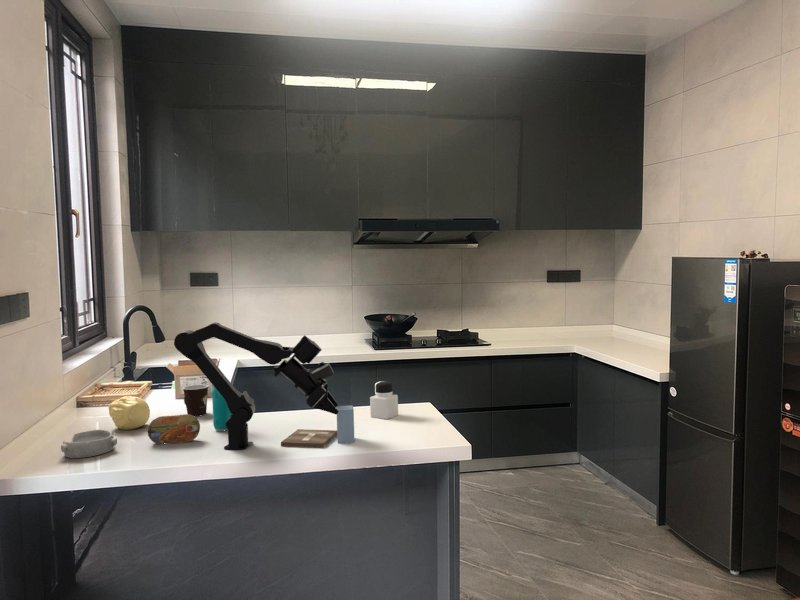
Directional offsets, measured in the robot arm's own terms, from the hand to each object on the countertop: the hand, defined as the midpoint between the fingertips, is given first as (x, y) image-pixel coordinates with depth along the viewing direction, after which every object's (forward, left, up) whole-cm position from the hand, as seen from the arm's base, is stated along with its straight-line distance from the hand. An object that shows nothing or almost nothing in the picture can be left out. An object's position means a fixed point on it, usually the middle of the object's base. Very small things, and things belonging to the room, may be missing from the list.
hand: (337, 409), depth 185 cm
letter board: (0, +9, -10) cm, 13 cm away
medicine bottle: (+31, -7, -10) cm, 33 cm away
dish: (-19, +70, -10) cm, 73 cm away
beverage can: (+8, +42, -10) cm, 44 cm away
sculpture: (+7, +75, -10) cm, 76 cm away
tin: (-7, +50, -10) cm, 51 cm away
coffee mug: (+24, +62, -10) cm, 67 cm away
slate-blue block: (+1, -2, -10) cm, 10 cm away
